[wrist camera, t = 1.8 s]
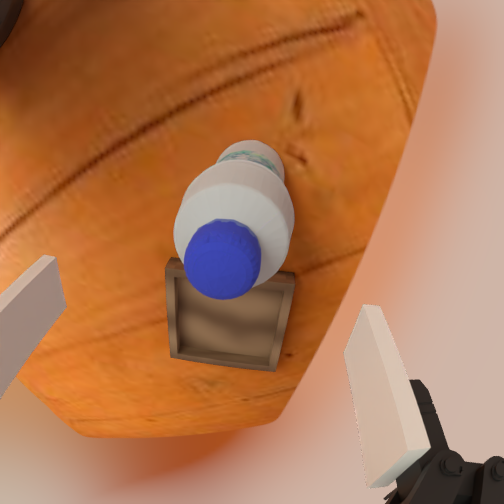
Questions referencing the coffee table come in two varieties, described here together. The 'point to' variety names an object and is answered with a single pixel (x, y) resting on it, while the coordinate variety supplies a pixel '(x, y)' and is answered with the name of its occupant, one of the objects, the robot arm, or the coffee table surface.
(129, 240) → the coffee table surface
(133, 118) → the coffee table surface
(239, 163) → the bottle
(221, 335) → the tray
